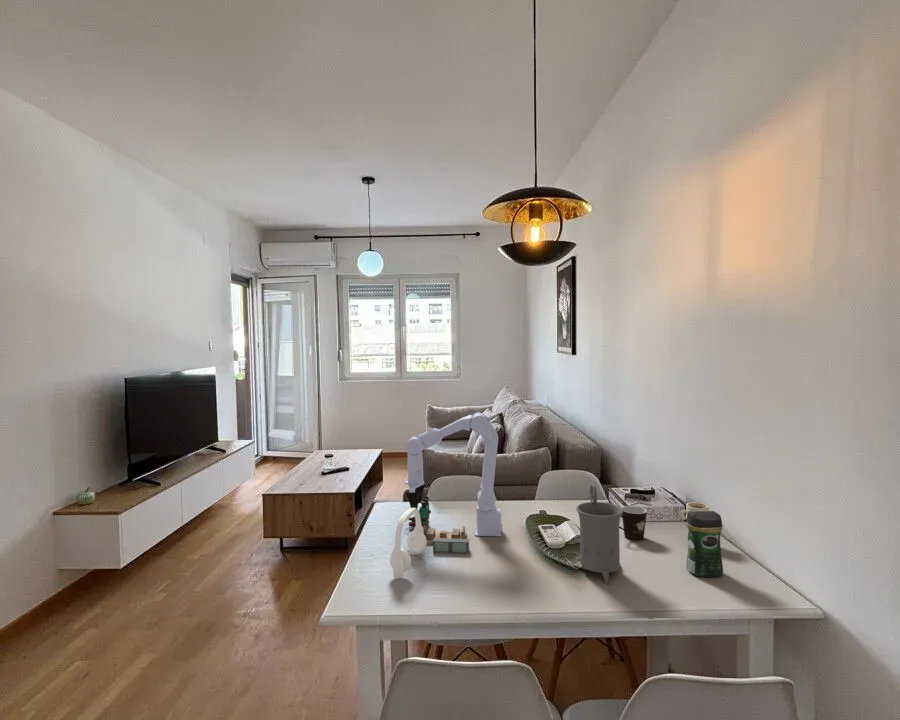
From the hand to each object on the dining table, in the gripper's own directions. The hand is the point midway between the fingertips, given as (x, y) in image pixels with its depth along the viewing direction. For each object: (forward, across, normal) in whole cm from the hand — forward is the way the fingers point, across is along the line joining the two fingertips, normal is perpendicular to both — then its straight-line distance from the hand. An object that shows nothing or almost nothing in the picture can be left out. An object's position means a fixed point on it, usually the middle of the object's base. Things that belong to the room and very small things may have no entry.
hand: (416, 506), depth 195 cm
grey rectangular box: (+10, +15, +15) cm, 24 cm away
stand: (+10, +6, +11) cm, 16 cm away
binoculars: (+9, -6, -1) cm, 11 cm away
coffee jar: (+10, +25, +93) cm, 97 cm away
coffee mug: (+10, -2, +77) cm, 77 cm away
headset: (+10, +29, +3) cm, 31 cm away
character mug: (+10, +1, +99) cm, 99 cm away
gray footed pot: (+10, +26, +62) cm, 68 cm away
